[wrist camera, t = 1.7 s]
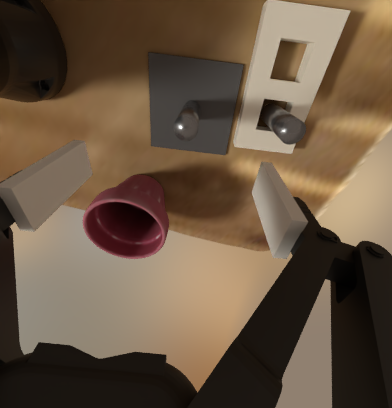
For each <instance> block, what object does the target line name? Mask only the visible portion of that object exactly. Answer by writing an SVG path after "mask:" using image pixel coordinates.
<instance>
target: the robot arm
mask: <svg viewBox="0 0 392 408" xmlns="http://www.w3.org/2000/svg"><path fill="white" fill-rule="evenodd" d="M66 73H67V59H66V53H65V48H64V44H63V41H62V38H61V36H60V33H59V31H58V29H57V27H56V25H55V23H54V21H53V19H52V17H51V16H50V14H49V12H48V11H47V9H46V8H45V7H44V5H43V4H42V3H41V1H40V0H0V98H5V99H10V100H15V101H20V102H38V101H42V100H46V99H49V98H51V97H53V96H55V95H56V94H57V93H58V92H59V91H60V90H61V88H62V86H63V84H64V82H65V78H66ZM92 175H93V174H92V170H91V166H90V161H89V157H88V153H87V149H86V144H85V141H80V140H73V141H71V142H70V143H68V144H66V145H65V146H63V147H61V148H59V149H58V150H56V151H54V152H53V153H51V154H49V155H48V156H46V157H44V158H42V159H41V160H39V161H37V162H36V163H34V164H32V165H31V166H29V167H27V168H25V169H24V170H21V171H19V172H17V173H15V174H14V175H13V176H10V177H9V178H7V180H3V181H2V182H0V408H275V407H276V404H277V402H278V399H279V397H280V394H281V390H282V377H283V374H284V372H285V369H286V367H287V365H288V363H289V360H290V358H291V356H292V353H293V351H294V348H295V347H296V344H297V342H298V340H299V338H300V335H301V332H302V331H303V328H304V326H305V324H306V321H307V319H308V317H309V315H310V312H311V310H312V308H313V305H314V303H315V301H316V299H317V296H318V294H319V292H320V289H321V287H322V285H323V283H324V280H325V279H328V280H330V281H331V349H332V408H392V255H391V254H390V253H389V252H388V251H387V250H386V249H385V248H383V247H382V246H380V245H378V244H375V243H373V242H369V241H362V242H360V243H359V244H358V245H357V246H356V247H354V246H351V245H349V244H345V243H342V242H341V241H340V239H339V237H338V236H337V235H336V234H335V233H334V232H332V231H331V230H329V229H326V228H323V227H321V226H320V225H319V223H318V221H317V220H316V219H315V217H314V216H313V214H311V211H310V210H309V209H308V207H307V205H306V204H305V202H303V201H302V200H301V199H300V198H298V197H293V196H292V195H291V193H290V192H289V190H288V188H287V187H286V185H285V183H284V182H283V180H282V179H281V177H280V175H279V174H278V172H277V170H276V169H275V167H274V166H273V164H272V163H268V162H261V165H260V168H259V172H258V175H257V178H256V181H255V184H254V187H253V190H252V195H253V198H254V201H255V204H256V207H257V210H258V213H259V216H260V220H261V223H262V226H263V229H264V232H265V235H266V238H267V241H268V244H269V247H270V250H271V253H272V256H273V258H283V259H287V257H288V256H289V254H290V252H291V253H292V255H293V256H292V258H291V259H290V261H289V262H288V264H287V265H286V267H285V268H284V270H283V271H282V273H281V274H280V275H279V277H278V279H277V280H276V281H275V283H274V284H273V286H272V287H271V289H270V290H269V292H268V293H267V294H266V296H265V297H264V299H263V300H262V302H261V303H260V305H259V306H258V308H257V309H256V310H255V312H254V313H253V315H252V316H251V318H250V319H249V321H248V322H247V324H246V325H245V326H244V328H243V329H242V331H241V332H240V334H239V335H238V337H237V338H236V339H235V340H234V341H233V342H232V344H231V345H230V347H229V348H228V350H227V351H226V352H225V354H224V355H223V357H222V358H221V360H220V361H219V363H218V364H217V365H216V367H215V368H214V370H213V371H212V373H211V374H210V376H209V377H208V379H207V380H206V381H205V383H204V384H203V386H202V387H201V389H200V390H199V392H198V393H197V391H196V390H195V388H194V386H193V385H192V384H191V382H190V381H189V380H188V379H187V377H186V376H185V375H184V374H183V373H182V372H181V371H179V370H178V369H177V368H175V367H173V366H172V365H170V364H168V363H166V355H162V354H152V353H142V352H132V353H127V354H123V355H118V356H113V357H108V358H103V359H98V358H95V357H93V356H91V355H89V354H87V353H85V352H83V351H81V350H79V349H76V348H75V347H73V346H70V345H60V344H51V343H41V342H40V343H38V345H37V346H36V348H35V349H34V351H33V352H32V353H29V354H26V355H24V354H23V352H22V350H21V347H20V342H19V327H18V310H17V294H16V279H15V263H14V247H13V232H12V230H11V228H10V227H9V226H11V225H12V224H13V223H14V222H16V224H17V226H18V227H19V229H20V230H25V231H33V232H34V231H35V230H36V229H38V228H39V227H40V226H41V225H42V224H43V223H44V222H45V221H46V220H47V219H48V218H49V217H50V216H51V215H52V214H53V213H54V212H55V211H56V210H57V209H58V208H59V207H60V206H61V205H62V204H63V203H64V202H65V201H66V200H67V199H68V198H69V197H70V196H71V195H72V194H73V193H74V192H75V191H76V190H77V189H78V188H79V187H80V186H81V185H82V184H83V183H84V182H86V181H87V180H88V179H89V178H90V177H91V176H92Z"/></svg>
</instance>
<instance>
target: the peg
mask: <svg viewBox="0 0 392 408" xmlns="http://www.w3.org/2000/svg"><path fill="white" fill-rule="evenodd" d="M200 113H201V108H200V105H199V104H198V103H197V102H196V101H193V100H190V101H188V102H186V103H185V104H184V106H183V108H182V110H181V112H180V114H179V115H178V117H177V119H176V121H175V123H174V127H173V129H174V133H175V135H176V136H177V138H179V139H180V140H182V141H190V140H192V139H194V138H195V137H196V135H197V133H198V127H199V120H200Z"/></svg>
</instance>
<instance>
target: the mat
mask: <svg viewBox="0 0 392 408" xmlns="http://www.w3.org/2000/svg"><path fill="white" fill-rule="evenodd" d="M148 56H149V88H150V121H151V146H154V147H162V148H170V149H179V150H187V151H195V152H203V153H212V154H220V155H225V154H226V149H227V144H228V139H229V134H230V129H231V125H232V120H233V115H234V110H235V105H236V100H237V95H238V90H239V85H240V80H241V75H242V71H243V66H244V65H242V64H234V63H227V62H219V61H211V60H204V59H196V58H189V57H181V56H173V55H166V54H158V53H150V52H148ZM190 100H193V101H196V102H197V103H198V104H199V105H200V108H201V113H200V120H199V127H198V133H197V135H196V137H195V138H194V139H192V140H190V141H182V140H180V139H179V138H177V136H176V135H175V133H174V129H173V127H174V123H175V121H176V119H177V117H178V115H179V114H180V112H181V110H182V108H183V106H184V104H185V103H186V102H188V101H190Z"/></svg>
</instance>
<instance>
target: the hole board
mask: <svg viewBox="0 0 392 408" xmlns="http://www.w3.org/2000/svg"><path fill="white" fill-rule="evenodd" d="M349 13H350V10H343V9H335V8H328V7H321V6H314V5H306V4H299V3H292V2H285V1H277V0H267V1H266V2H265V3H264V4H263V8H262V13H261V17H260V22H259V27H258V31H257V36H256V40H255V45H254V49H253V54H252V58H251V63H250V68H249V72H248V77H247V81H246V86H245V90H244V95H243V100H242V104H241V109H240V113H239V118H238V122H237V127H236V131H235V136H234V141H233V143H234V146H235V147H240V148H248V149H256V150H265V151H273V152H281V153H289V154H292V152H293V149H294V147H295V144H296V143H295V144H291V145H288V144H285V143H283V142H282V141H281V140H280V139H279V138H278V137H277V135H276V134H275V133H274V132H273V131H272V130H271V129H270V128H269V127H261V126H257V123H258V119H259V116H260V112H261V109H262V105H263V101H264V99H270V100H278V101H286V102H287V105H286V108H285V110H286V111H287V112H289V113H290V114H292V115H293V116H295V117H297V118H298V119H300V120H301V121H303V122H305V120H306V118H307V115H308V113H309V110H310V108H311V105H312V103H313V101H314V98H315V96H316V93H317V91H318V89H319V86H320V84H321V81H322V79H323V76H324V74H325V72H326V69H327V67H328V64H329V62H330V59H331V57H332V55H333V52H334V50H335V47H336V45H337V42H338V40H339V38H340V35H341V33H342V30H343V28H344V25H345V23H346V21H347V18H348V16H349ZM280 40H282V41H290V42H297V43H305V44H307V47H306V50H305V53H304V56H303V59H302V62H301V64H300V67H299V70H298V73H297V76H296V79H295V82H294V81H286V80H278V79H271V78H270V76H271V73H272V69H273V65H274V62H275V58H276V55H277V51H278V47H279V44H280Z"/></svg>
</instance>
